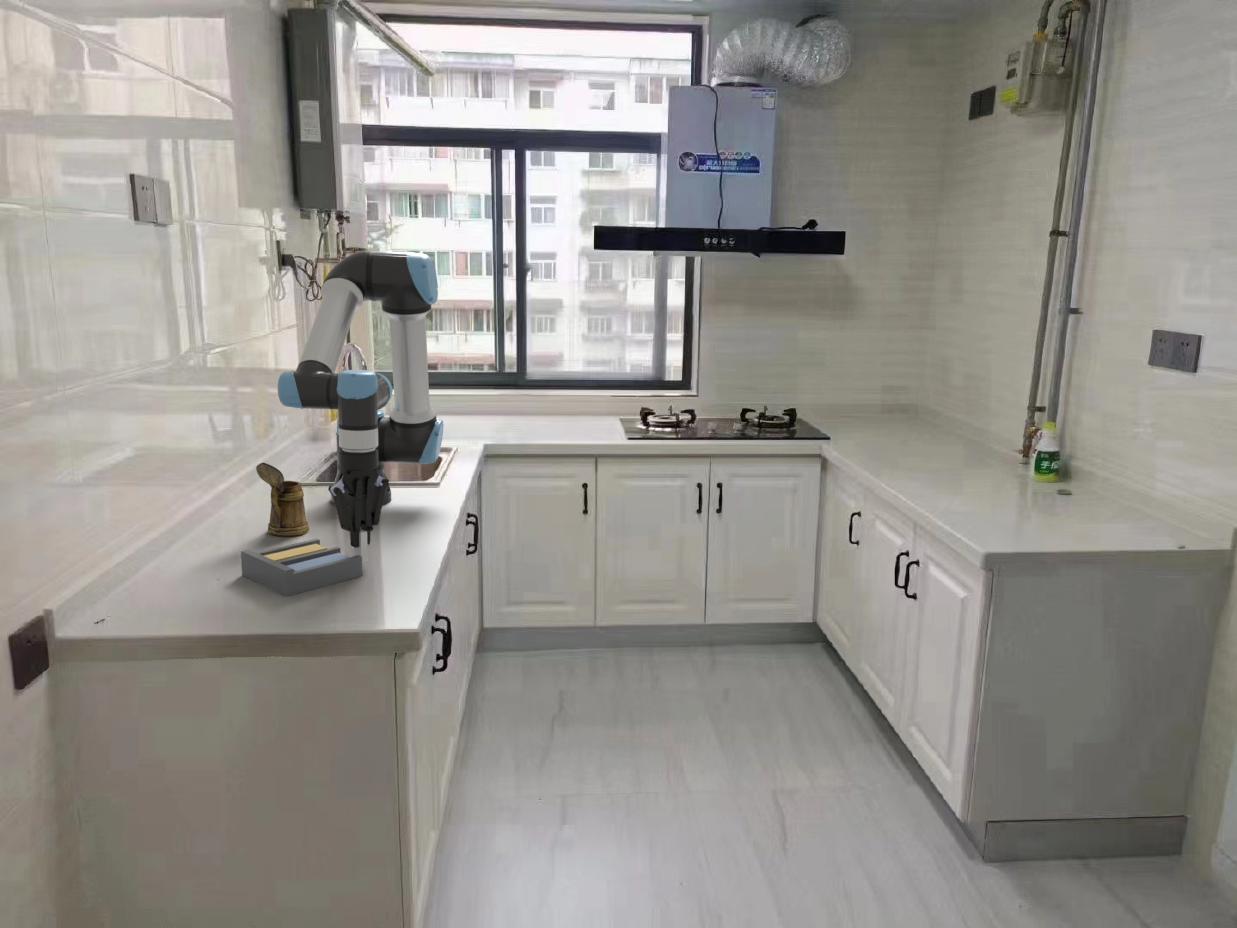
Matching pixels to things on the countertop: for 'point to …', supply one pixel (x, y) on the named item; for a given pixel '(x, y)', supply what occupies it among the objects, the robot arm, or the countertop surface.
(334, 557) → the bar blue
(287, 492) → the wooden mug
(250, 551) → the comb rack
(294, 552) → the bar ochre
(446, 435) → the countertop surface
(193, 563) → the countertop surface
